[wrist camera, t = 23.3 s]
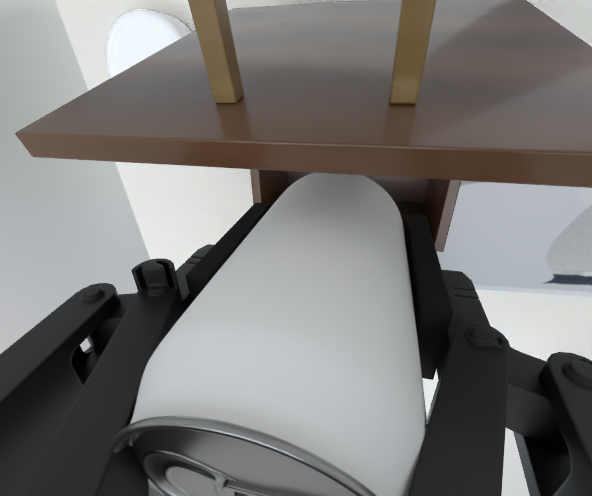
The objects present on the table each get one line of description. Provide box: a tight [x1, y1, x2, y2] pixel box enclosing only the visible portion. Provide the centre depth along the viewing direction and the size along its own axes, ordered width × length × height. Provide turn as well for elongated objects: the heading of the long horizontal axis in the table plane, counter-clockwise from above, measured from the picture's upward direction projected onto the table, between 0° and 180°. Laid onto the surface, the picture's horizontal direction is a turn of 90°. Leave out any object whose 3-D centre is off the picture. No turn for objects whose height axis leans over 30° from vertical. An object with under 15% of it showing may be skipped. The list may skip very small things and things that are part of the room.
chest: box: [250, 169, 461, 252], centre depth 28 cm, size 17×17×10 cm
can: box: [109, 173, 427, 496], centre depth 11 cm, size 6×6×12 cm
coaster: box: [106, 9, 191, 78], centre depth 32 cm, size 10×10×4 cm
